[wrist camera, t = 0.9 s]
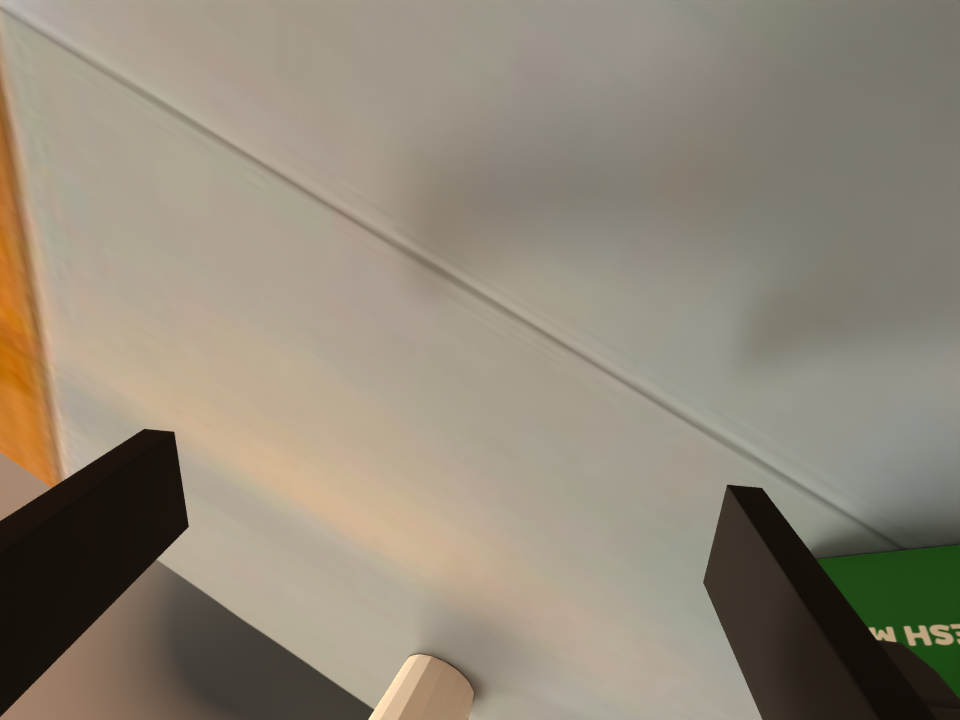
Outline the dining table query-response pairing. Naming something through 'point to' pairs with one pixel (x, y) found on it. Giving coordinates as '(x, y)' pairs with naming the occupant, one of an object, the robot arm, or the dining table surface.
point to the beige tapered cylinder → (426, 692)
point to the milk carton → (908, 601)
